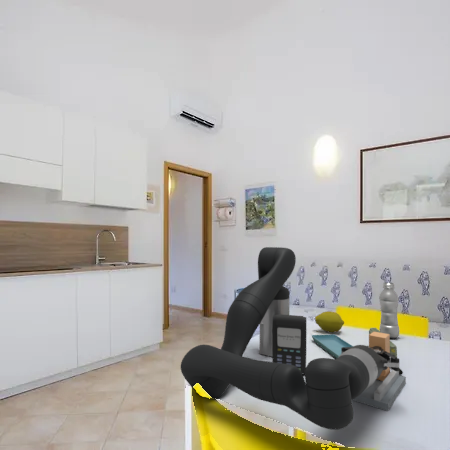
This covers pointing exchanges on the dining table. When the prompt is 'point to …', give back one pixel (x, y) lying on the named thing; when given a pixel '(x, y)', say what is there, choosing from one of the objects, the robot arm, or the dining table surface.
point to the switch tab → (383, 342)
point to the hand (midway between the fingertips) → (378, 350)
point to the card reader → (289, 340)
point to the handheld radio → (392, 347)
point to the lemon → (329, 321)
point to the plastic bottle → (389, 310)
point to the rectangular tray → (331, 343)
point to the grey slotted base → (383, 391)
